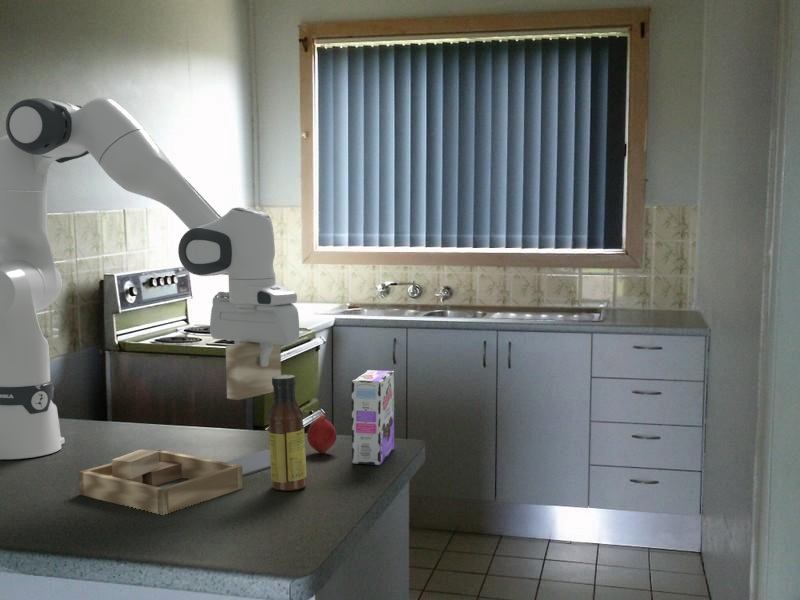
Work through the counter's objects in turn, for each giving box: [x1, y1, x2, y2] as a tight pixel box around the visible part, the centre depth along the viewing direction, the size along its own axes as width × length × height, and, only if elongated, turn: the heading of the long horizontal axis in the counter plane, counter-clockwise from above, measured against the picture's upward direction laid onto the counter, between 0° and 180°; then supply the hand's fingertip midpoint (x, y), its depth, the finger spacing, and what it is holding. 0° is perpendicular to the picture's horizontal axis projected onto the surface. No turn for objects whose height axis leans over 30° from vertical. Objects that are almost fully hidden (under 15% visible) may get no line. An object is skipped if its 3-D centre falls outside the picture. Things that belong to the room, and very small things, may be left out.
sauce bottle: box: [267, 374, 308, 492], centre depth 169 cm, size 7×6×20 cm
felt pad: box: [224, 448, 271, 477], centre depth 186 cm, size 9×17×1 cm, turn 146°
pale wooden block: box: [225, 342, 282, 401], centre depth 184 cm, size 3×12×10 cm, turn 146°
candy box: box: [351, 369, 395, 466], centre depth 190 cm, size 14×6×16 cm, turn 168°
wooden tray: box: [78, 449, 244, 516], centre depth 167 cm, size 21×18×4 cm
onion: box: [306, 414, 337, 455], centre depth 193 cm, size 6×6×8 cm
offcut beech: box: [111, 448, 159, 479], centre depth 170 cm, size 4×8×3 cm, turn 158°
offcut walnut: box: [142, 460, 183, 487], centre depth 174 cm, size 4×7×3 cm, turn 146°
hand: (254, 365), depth 184 cm, fingers closed on pale wooden block, 3 cm apart
